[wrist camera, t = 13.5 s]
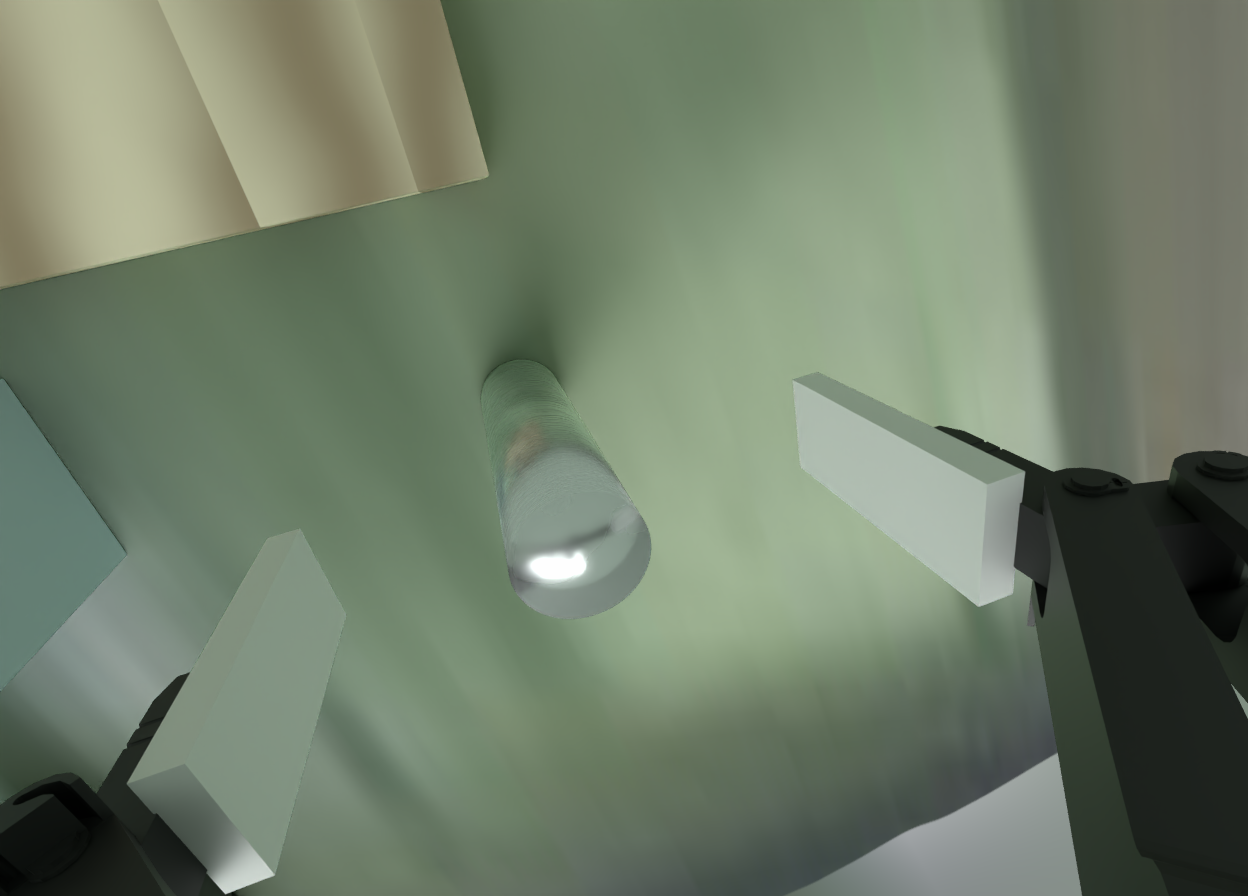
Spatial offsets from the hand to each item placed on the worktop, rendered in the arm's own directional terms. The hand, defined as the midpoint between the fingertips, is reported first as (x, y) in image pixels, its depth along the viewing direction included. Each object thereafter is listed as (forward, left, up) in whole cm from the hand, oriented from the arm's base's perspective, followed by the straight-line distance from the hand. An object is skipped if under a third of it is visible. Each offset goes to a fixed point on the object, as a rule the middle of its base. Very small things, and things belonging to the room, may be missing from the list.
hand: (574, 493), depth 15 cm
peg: (0, 0, -9) cm, 9 cm away
